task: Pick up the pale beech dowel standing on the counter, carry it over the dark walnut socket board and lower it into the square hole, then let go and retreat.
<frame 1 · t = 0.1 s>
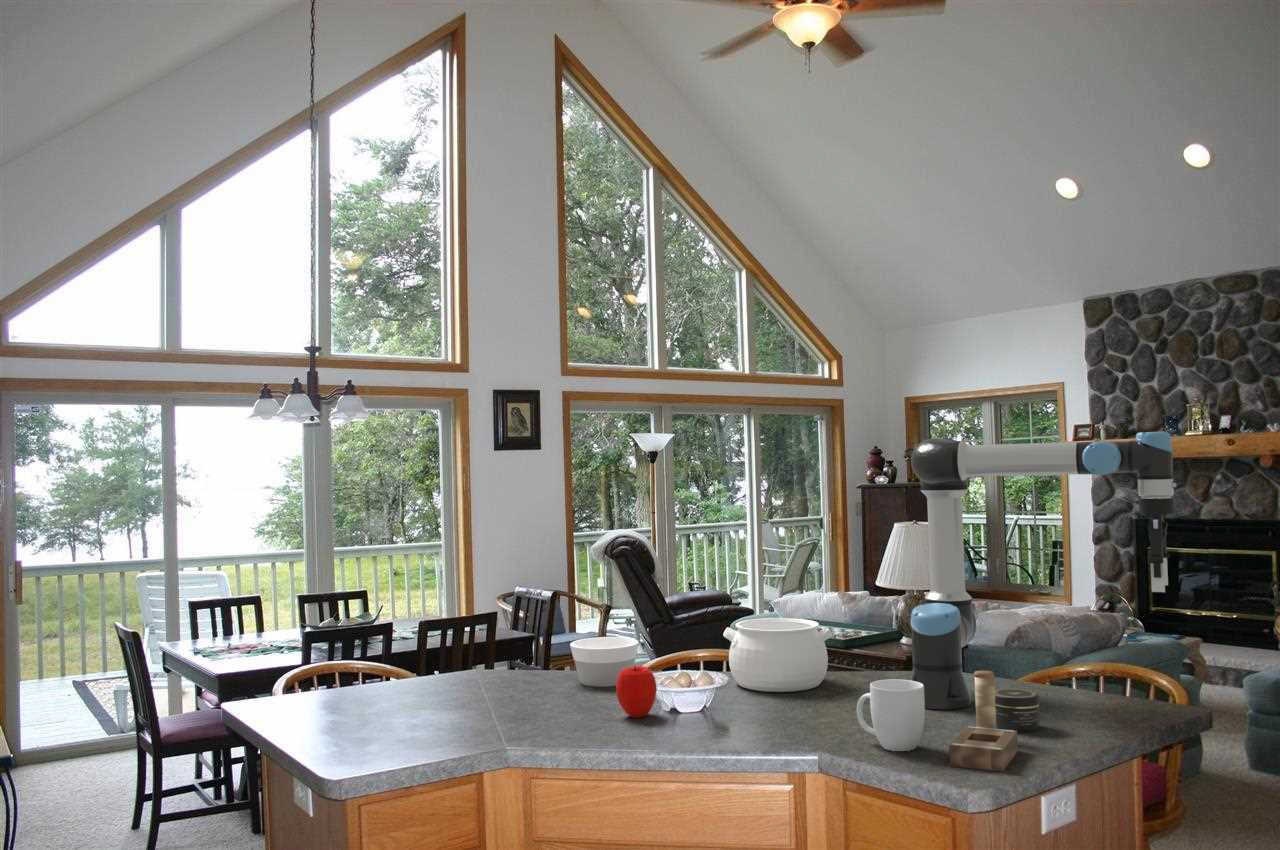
hand: (1160, 588, 249), 28 cm above the counter, fingers open, 13 cm apart
socket board: (984, 758, 212), on the counter
jar: (1016, 728, 235), on the counter
apple: (637, 716, 255), on the counter
mug: (894, 748, 222), on the counter
dowel: (986, 738, 227), on the counter
bowl: (605, 682, 297), on the counter
pot: (778, 685, 287), on the counter
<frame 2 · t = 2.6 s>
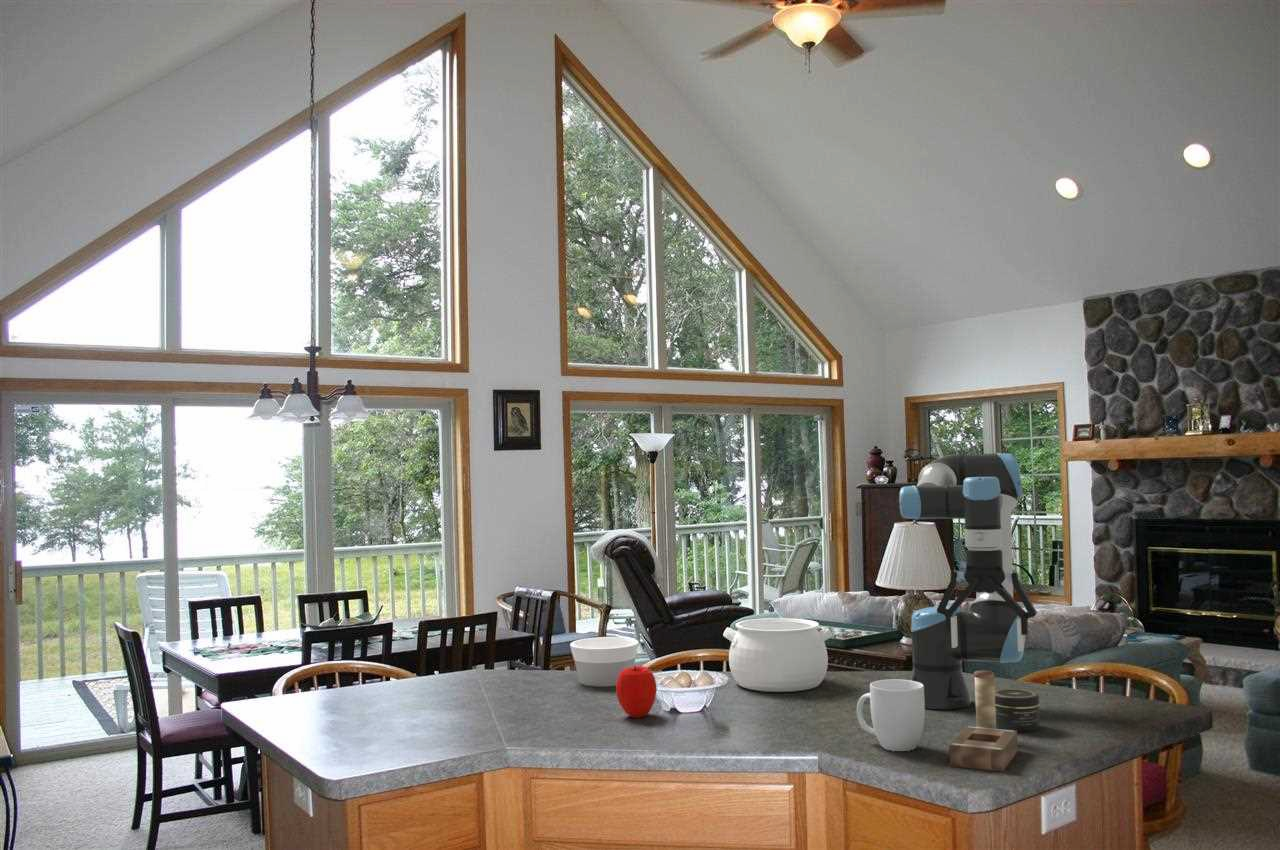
hand: (987, 648, 228), 19 cm above the counter, fingers open, 13 cm apart
nothing on the counter moved.
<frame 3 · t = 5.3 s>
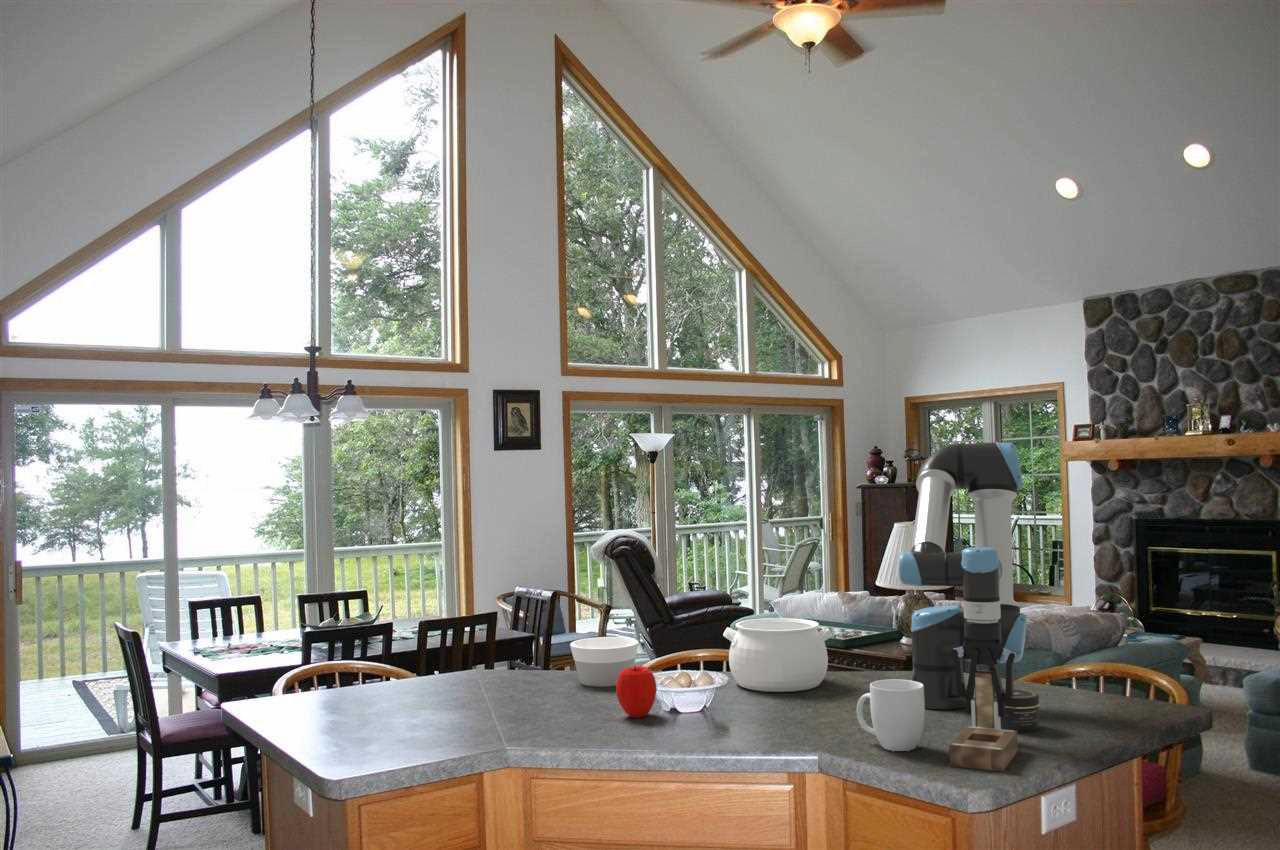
hand: (986, 730, 227), 2 cm above the counter, fingers closed on dowel, 4 cm apart
dowel: (986, 738, 227), on the counter, touching gripper
everything else where it was.
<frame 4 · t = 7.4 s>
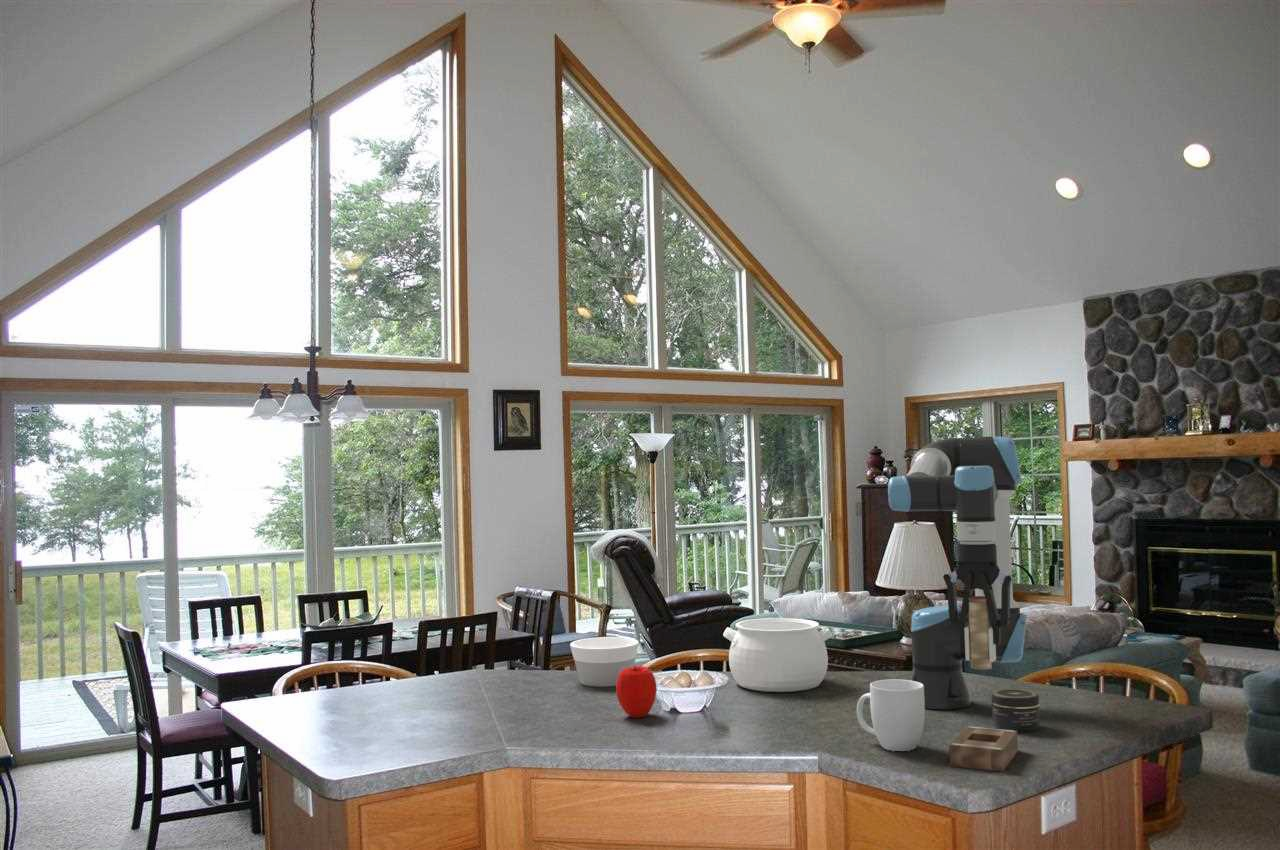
hand: (980, 659, 213), 19 cm above the counter, fingers closed on dowel, 4 cm apart
dowel: (981, 667, 213), point 18 cm above the counter, touching gripper
everything else where it was.
when the fingers open (5 cm above the counter, at t = 9.7 s): dowel drops 3 cm, resting in socket board.
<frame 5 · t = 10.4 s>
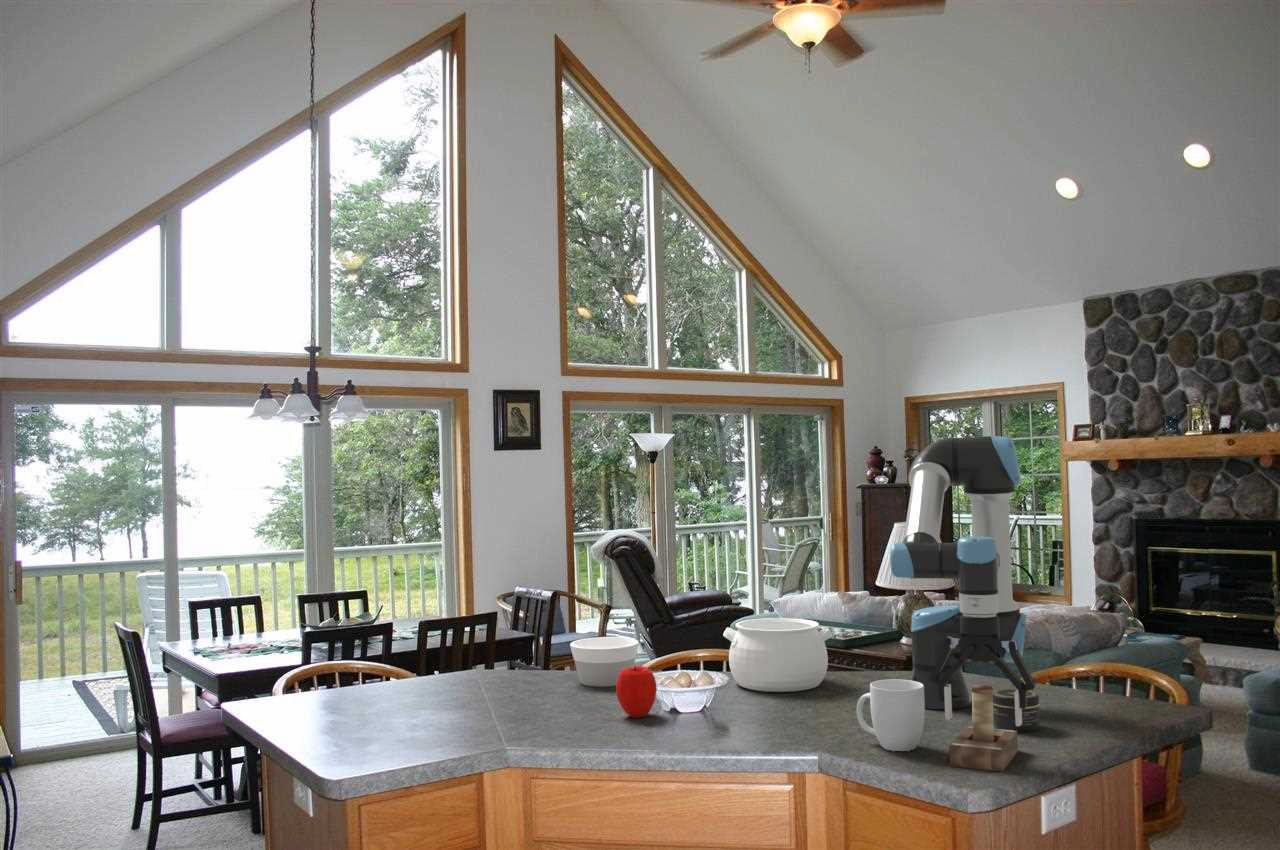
hand: (983, 721, 213), 7 cm above the counter, fingers open, 13 cm apart
dowel: (983, 757, 213), resting in socket board
everything else where it was.
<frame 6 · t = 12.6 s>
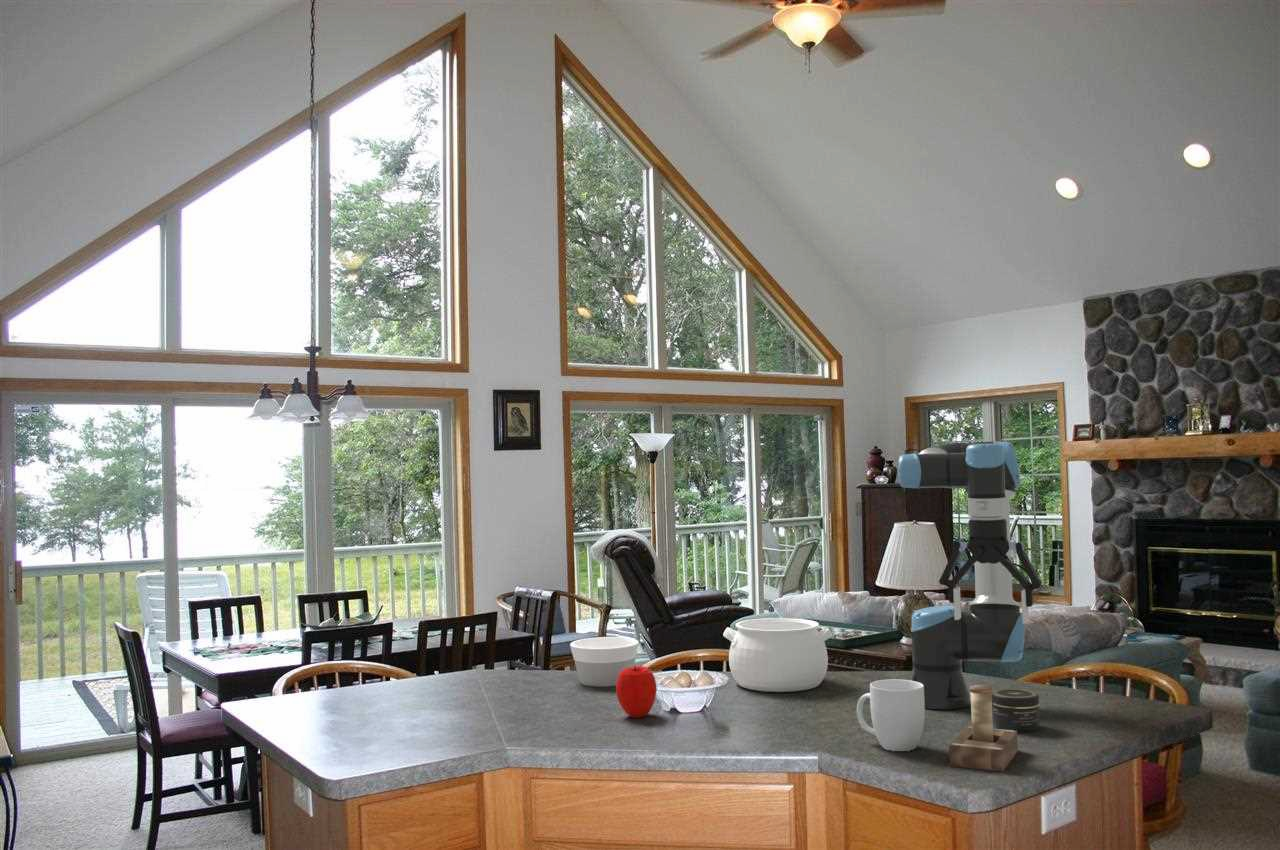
hand: (991, 620, 221), 26 cm above the counter, fingers open, 13 cm apart
nothing on the counter moved.
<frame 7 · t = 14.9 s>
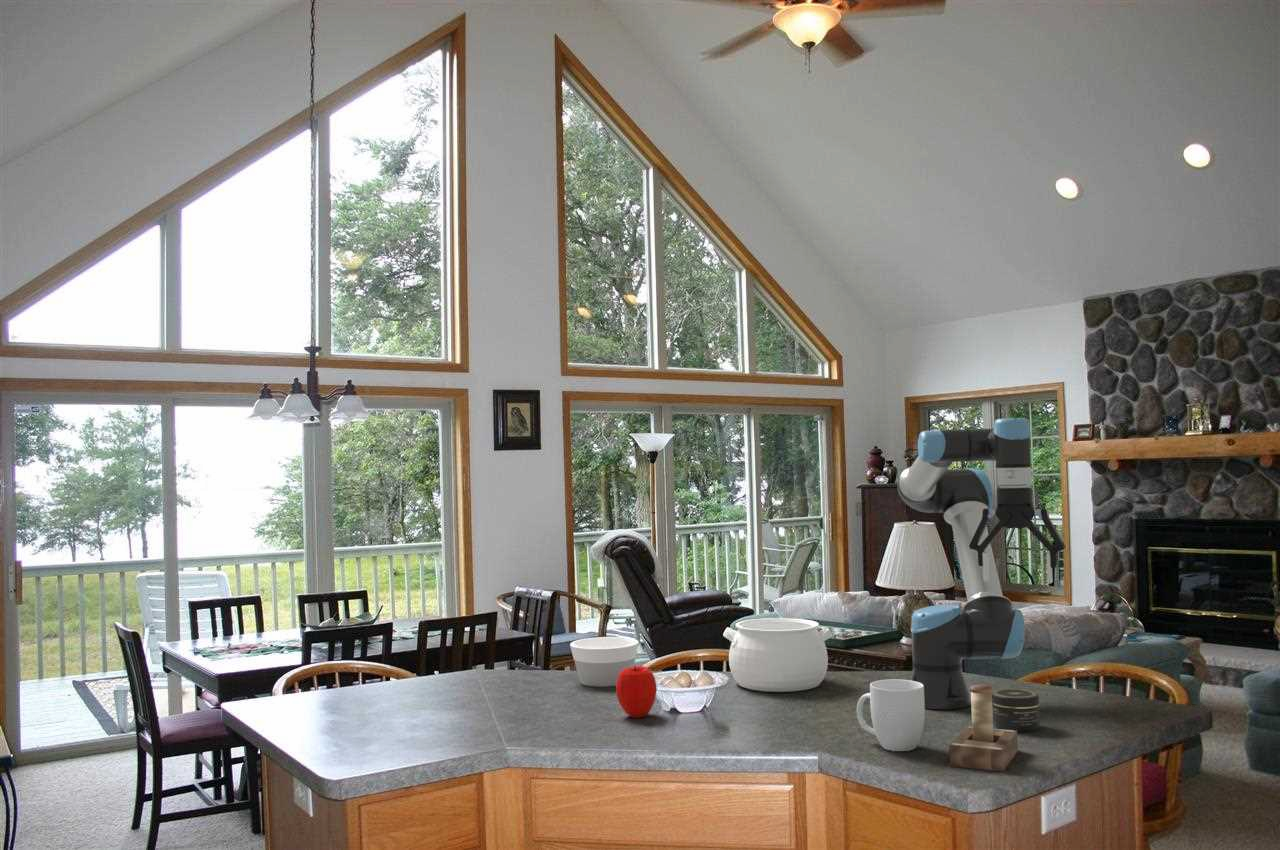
hand: (1017, 581, 239), 32 cm above the counter, fingers open, 13 cm apart
nothing on the counter moved.
at the end: dowel 0.2 cm off-centre on the socket board, point 0.0 cm above the socket board's base; dowel tilted 0°; the gripper is holding nothing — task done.
